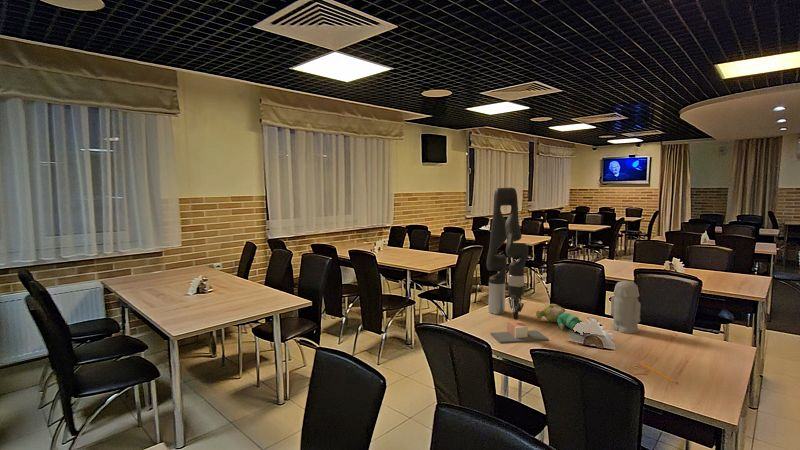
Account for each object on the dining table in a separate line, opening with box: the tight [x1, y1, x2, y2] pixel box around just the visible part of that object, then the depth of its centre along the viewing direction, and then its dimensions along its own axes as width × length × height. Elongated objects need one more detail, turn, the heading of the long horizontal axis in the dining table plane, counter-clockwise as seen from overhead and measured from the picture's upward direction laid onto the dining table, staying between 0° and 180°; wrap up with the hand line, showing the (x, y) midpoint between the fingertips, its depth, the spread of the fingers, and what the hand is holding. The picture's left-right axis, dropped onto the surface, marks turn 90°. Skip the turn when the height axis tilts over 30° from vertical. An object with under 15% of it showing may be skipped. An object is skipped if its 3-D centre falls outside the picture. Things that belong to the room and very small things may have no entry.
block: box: [506, 319, 529, 338], centre depth 206 cm, size 5×6×10 cm
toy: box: [535, 303, 583, 331], centre depth 220 cm, size 17×10×30 cm
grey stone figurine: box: [610, 280, 642, 335], centre depth 213 cm, size 15×10×25 cm
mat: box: [490, 329, 549, 344], centre depth 204 cm, size 12×24×1 cm, turn 99°
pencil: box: [639, 362, 678, 384], centre depth 165 cm, size 1×19×1 cm, turn 11°
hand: (515, 319), depth 207 cm, fingers closed
